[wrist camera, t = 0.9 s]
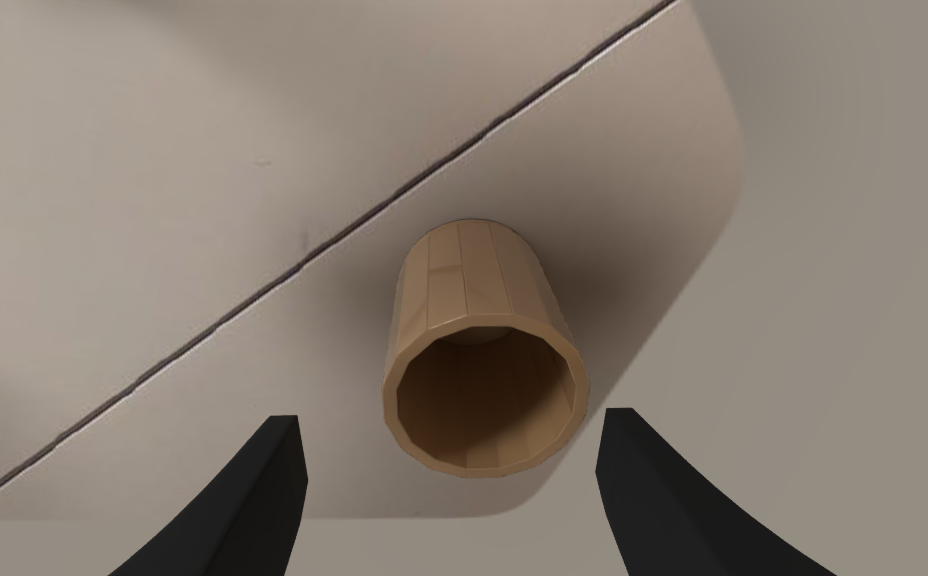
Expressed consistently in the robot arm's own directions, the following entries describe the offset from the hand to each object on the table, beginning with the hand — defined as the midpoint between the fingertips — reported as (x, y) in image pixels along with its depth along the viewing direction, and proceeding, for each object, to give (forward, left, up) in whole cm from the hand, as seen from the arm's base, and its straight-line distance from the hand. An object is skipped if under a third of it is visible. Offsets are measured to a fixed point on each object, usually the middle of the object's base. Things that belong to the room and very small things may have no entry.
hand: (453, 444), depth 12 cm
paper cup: (0, -1, -9) cm, 9 cm away
